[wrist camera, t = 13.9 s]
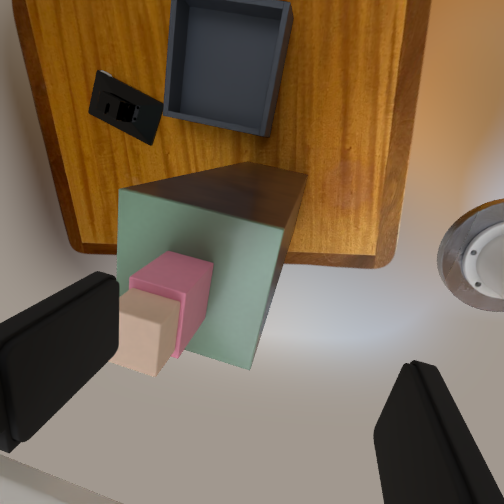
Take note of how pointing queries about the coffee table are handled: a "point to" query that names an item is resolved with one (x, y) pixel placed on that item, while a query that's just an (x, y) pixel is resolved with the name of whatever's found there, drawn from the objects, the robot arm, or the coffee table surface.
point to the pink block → (162, 311)
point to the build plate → (125, 107)
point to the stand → (217, 244)
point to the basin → (226, 62)
